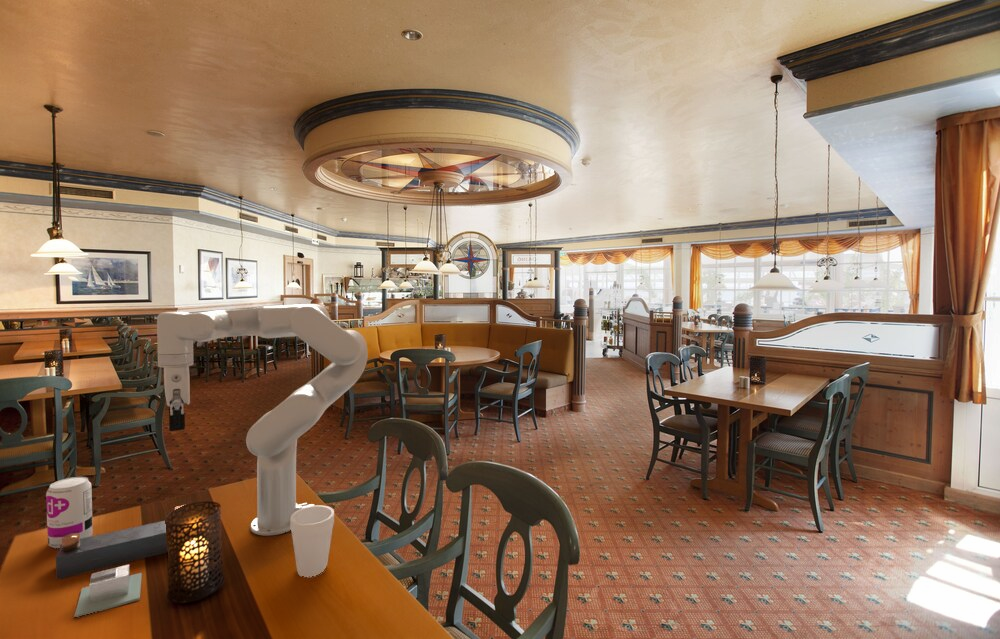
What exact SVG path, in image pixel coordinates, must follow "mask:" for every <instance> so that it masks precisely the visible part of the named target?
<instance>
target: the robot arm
mask: <svg viewBox="0 0 1000 639" xmlns="http://www.w3.org/2000/svg"><path fill="white" fill-rule="evenodd" d="M156 324H157V325H156V329H157V330H156V332H157V334H156V335H157V336H156V337H157V341H156V342H157V367H158V368H163V383H164V384H163V385H164V386H163V387H164V396H165V401H166V405H167V406H168V413H169V414H168V416H169V417H168V421H169V422H168V423H169V424H168V426H169V428H168V430H169V431H170V432H174V431H183V430H185V429H186V428H185V427H186V417H185V416H186V415H185V414H186V413H185V407H184V406H185V405H184V404H186V405H190V404H191V398H190V397H191V396H190V394H191V393H190V389H191V388H190V385H191V384H190V367H191V366H193V365H194V342H203V343H205V342H210V341H211V342H212V341H214V340H217V339H221V338H229V337H242V336H244V337H247V336H249V337H250V336H251V337H252V336H255V337H257V336H258V337H260V338H262V339H263V338H264V339H274V338H275V339H277V338H279V339H280V338H291V337H298V338H299V339H301V341H303V342H304V343H305V344H307V345H308V346H310V347H311V348H312V349H314V350H315V351H316V352H317V353H319V354H321V355H322V356H323V357H324V358H325V359H327V360H329V361H330V362H331V363H330V364H329V365H327V367H325V368H324V369H323V370H322V371H321V372H320V373H318V374H317V375H316V376H315V377H314V378H312V379H311V380H309V381H307V383H306V384H304V385H302V386H300V387H299V388H297V389H296V390H294V391H293V392H292V393H291V394H290V395H289V396H288V397H286V398H285V399H284V400H283V401H282V402H280V403H279V404H278V405H277V406H276V407H274V408H273V409H272V410H270V411H268V412H266V413H264V414H263V416H261V417H260V418H259V419H258V420H257V421H256V422H255V423H254V424H252V426H251V427H250V428H249V429H248V432H247V434H246V438H245V443H246V447H247V450H248V451H249V452H250V453H251V454H252V455H254V456H255V457H257V459H256V460H257V462H256V473H257V474H256V479H257V480H256V483H257V484H256V489H257V490H256V491H257V492H256V494H257V496H256V500H257V501H256V504H257V505H256V506H257V507H256V509H257V511H256V512H257V514H256V515H257V516H256V517H255V518H254V519H253V520H252V521H251V523H250V531H251V532H252V533H253V534H255V535H259V536H267V537H269V536H278V535H282V534H284V533H285V532H286V533H288V532H291V531H290V519H291V515H292V514H293V513H294V512H295V511H297V510H300V509H302V508H305V507H309V506H315V504H313V503H311V504H308V502H303V503H299V504H298V503H297V446H298V439H299V438H300V437H301V436H302V435H303V434H305V433H306V432H308V431H309V430H310V429H311V428H312V427H313V426H314V425H316V423H317V422H318V421H319V420H320V419H321V417H322V416H323V414H324V413H325V411H326V410H327V409H329V407H330V406H331V405H333V403H335V402H336V401H337V400H338V399H339V398H341V396H343V395H344V394H345V393H346V392H347V391H349V390H350V389H351V388H352V387H353V386H354V385H355V384H356V383H357V382H358V380H359V379H360V378H361V376H362V374H363V373H364V371H365V368H366V365H367V362H368V355H369V352H368V346H367V342H366V339H365V338H364V336H363V335H362V334H361V333H360V332H359V331H357V330H354V329H344V328H342V327H341V326H340V325H339V324H337V323H336V322H335V321H334V320H332V319H331V316H330V313H329V311H328V310H327V309H326V308H325V307H324V305H321V304H319V303H301V304H286V305H285V304H284V305H283V304H282V305H265V306H264V305H263V306H258V307H255V308H237V309H220V310H219V309H218V310H210V311H201V312H194V313H190V312H187V311H164V312H160V313H159V314H158V315H157V319H156ZM286 533H285V534H286Z"/></svg>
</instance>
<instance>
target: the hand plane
mask: <svg viewBox="0 0 1000 639" xmlns="http://www.w3.org/2000/svg"><path fill="white" fill-rule="evenodd" d="M184 505H185V504H181V505H178V506H175V507H174V511H175V510H176V509H178V508H180V507H182V506H184ZM166 552H167V543H166V524H165V520H161V521H157V522H153V523H152V522H151V523H147V524H144V525H143V524H142V525H138V526H134V527H129V528H124V529H120V530H115V531H110V532H105V533H101V534H100V533H99V534H96V535H91V536H90V537H86V538H82V539H80V534H79V533H72V534H68V535H66V536H64V537H62V544H61V546H60V549H58V551H57V554H56V557H55V570H56V572H55V574H56V580H62V579H65V578H68V577H73V576H78V575H81V573H82V574H86V573H90V572H94V571H97V570H100V569H102V570H103V569H105V568H110V567H114V566H117V565H122V564H125V563H126V564H127V563H130V562H133V561H139V560H142V559H146V558H150V557H154V556H158V555H162V554H165V553H166ZM167 553H168V552H167ZM93 570H94V571H93ZM89 571H90V572H89ZM85 572H86V573H85Z"/></svg>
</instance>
